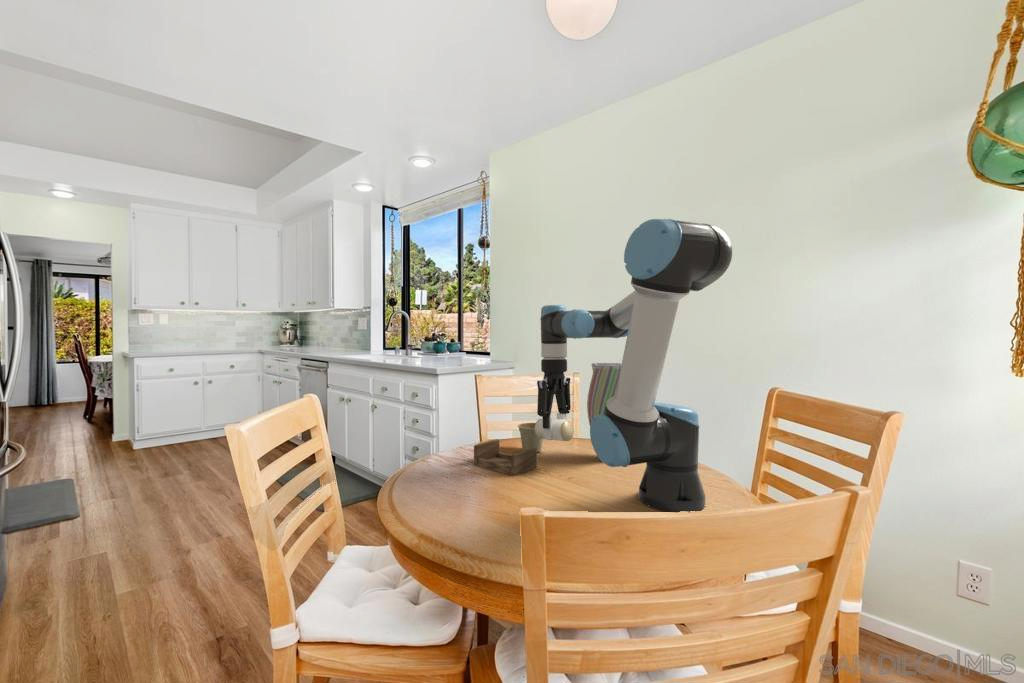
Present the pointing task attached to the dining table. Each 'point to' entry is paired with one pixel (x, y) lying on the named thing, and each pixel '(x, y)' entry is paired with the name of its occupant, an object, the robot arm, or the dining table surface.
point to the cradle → (504, 458)
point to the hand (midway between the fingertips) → (554, 437)
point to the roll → (556, 429)
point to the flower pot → (529, 437)
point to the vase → (602, 387)
